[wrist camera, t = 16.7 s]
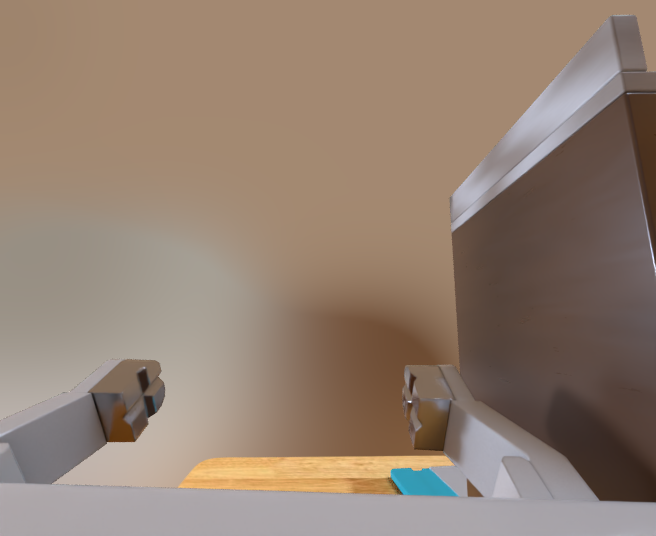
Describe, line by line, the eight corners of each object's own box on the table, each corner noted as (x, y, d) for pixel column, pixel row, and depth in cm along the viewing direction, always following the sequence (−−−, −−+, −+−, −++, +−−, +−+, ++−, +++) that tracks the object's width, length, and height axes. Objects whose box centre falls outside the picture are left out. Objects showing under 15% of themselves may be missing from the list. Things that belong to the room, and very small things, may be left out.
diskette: (588, 748, 15) (585, 722, 15) (389, 477, 42) (389, 469, 42) (949, 669, 19) (943, 650, 19) (555, 467, 46) (554, 460, 46)
